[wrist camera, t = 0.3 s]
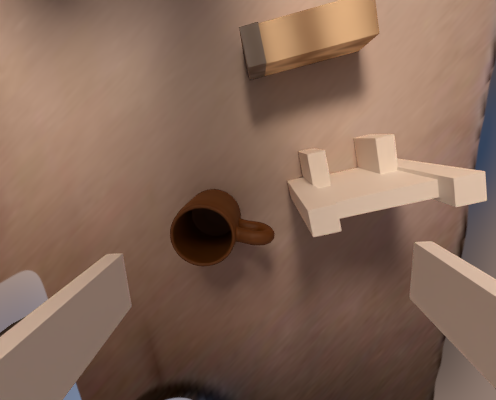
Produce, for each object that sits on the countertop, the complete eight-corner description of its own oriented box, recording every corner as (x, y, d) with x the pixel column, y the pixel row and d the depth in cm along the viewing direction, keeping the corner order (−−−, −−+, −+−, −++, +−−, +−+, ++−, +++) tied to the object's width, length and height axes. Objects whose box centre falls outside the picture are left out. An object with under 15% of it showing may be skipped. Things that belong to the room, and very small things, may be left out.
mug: (274, 192, 39) (279, 209, 29) (269, 242, 40) (272, 273, 31) (189, 185, 39) (168, 200, 30) (188, 236, 40) (167, 265, 31)
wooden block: (353, 16, 33) (375, -12, 27) (358, 51, 34) (381, 31, 28) (242, 47, 35) (239, 27, 28) (249, 80, 35) (248, 67, 29)
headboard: (281, 155, 37) (299, 167, 22) (385, 130, 36) (482, 125, 21) (290, 197, 39) (313, 237, 23) (391, 174, 37) (486, 200, 22)
